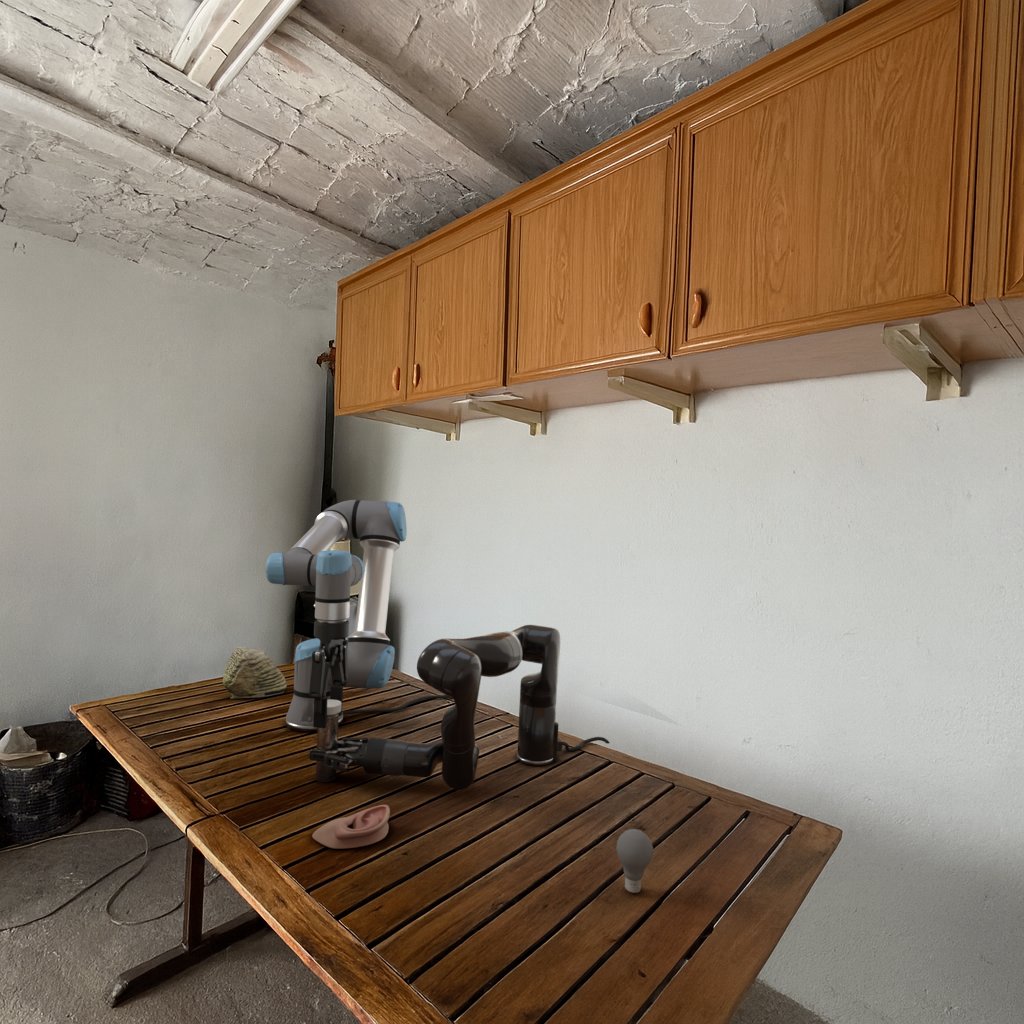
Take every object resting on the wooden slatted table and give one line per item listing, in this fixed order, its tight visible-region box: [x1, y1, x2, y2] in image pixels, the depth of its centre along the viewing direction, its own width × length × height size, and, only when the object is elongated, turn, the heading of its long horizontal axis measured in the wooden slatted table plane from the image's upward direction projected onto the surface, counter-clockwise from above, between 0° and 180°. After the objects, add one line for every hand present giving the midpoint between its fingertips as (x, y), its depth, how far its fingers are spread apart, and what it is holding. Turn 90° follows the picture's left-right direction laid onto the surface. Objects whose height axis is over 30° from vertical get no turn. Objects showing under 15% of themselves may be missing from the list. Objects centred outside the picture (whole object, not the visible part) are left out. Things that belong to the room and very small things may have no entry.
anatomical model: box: [311, 804, 391, 850], centre depth 119 cm, size 13×4×12 cm
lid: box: [327, 700, 341, 715], centre depth 142 cm, size 6×6×2 cm
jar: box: [315, 713, 339, 783], centre depth 143 cm, size 4×4×16 cm
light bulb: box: [615, 828, 654, 894], centre depth 106 cm, size 6×6×10 cm
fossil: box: [222, 646, 288, 699], centre depth 198 cm, size 9×18×15 cm, turn 132°
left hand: (328, 720), depth 142 cm, fingers open, 7 cm apart
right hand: (315, 750), depth 143 cm, fingers closed on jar, 4 cm apart
